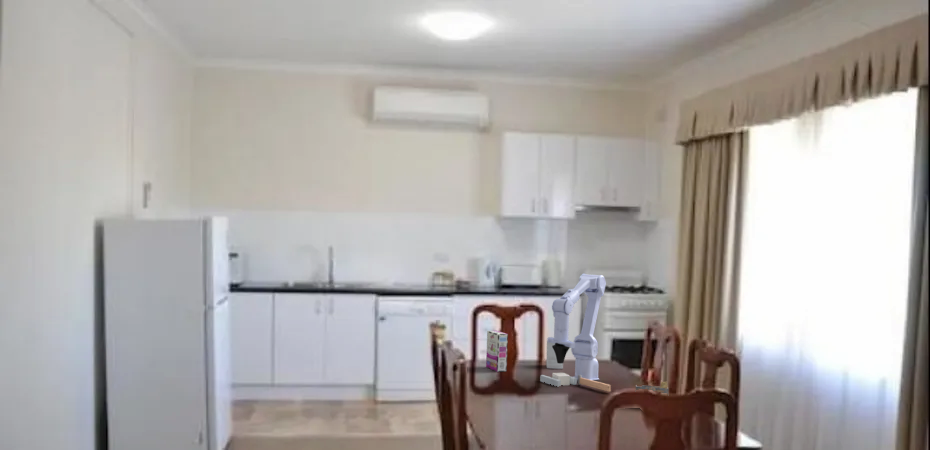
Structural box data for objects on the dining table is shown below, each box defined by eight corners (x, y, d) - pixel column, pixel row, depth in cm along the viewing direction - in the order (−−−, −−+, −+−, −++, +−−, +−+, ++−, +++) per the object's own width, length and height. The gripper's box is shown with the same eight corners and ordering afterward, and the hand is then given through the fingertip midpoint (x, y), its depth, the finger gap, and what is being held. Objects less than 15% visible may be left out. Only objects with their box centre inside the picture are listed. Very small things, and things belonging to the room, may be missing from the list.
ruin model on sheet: (666, 407, 271) (667, 381, 271) (667, 410, 268) (668, 382, 268) (634, 405, 273) (635, 379, 273) (635, 407, 270) (636, 380, 270)
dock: (559, 378, 312) (559, 373, 312) (576, 384, 302) (576, 378, 302) (540, 381, 306) (540, 375, 306) (557, 386, 297) (557, 380, 297)
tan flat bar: (577, 384, 301) (577, 375, 301) (579, 383, 302) (579, 374, 302) (608, 393, 288) (608, 383, 288) (610, 392, 289) (611, 383, 289)
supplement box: (562, 365, 339) (563, 338, 339) (562, 369, 332) (563, 340, 332) (546, 365, 340) (546, 337, 340) (546, 368, 333) (547, 340, 332)
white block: (563, 382, 307) (563, 372, 307) (569, 385, 301) (569, 375, 301) (552, 382, 305) (552, 372, 305) (558, 386, 299) (558, 376, 299)
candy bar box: (507, 371, 323) (508, 333, 323) (497, 372, 321) (498, 334, 321) (495, 366, 333) (496, 329, 333) (485, 367, 331) (486, 330, 331)
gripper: (542, 327, 301) (541, 360, 301) (565, 332, 289) (564, 367, 289) (555, 326, 305) (554, 359, 305) (579, 331, 293) (578, 365, 293)
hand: (560, 363), depth 297 cm, fingers closed
